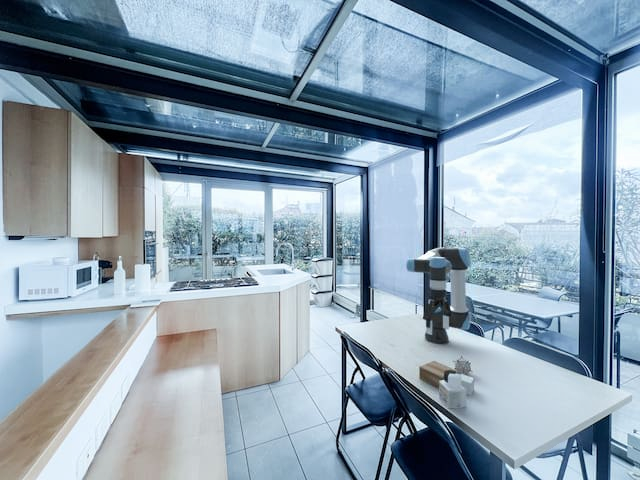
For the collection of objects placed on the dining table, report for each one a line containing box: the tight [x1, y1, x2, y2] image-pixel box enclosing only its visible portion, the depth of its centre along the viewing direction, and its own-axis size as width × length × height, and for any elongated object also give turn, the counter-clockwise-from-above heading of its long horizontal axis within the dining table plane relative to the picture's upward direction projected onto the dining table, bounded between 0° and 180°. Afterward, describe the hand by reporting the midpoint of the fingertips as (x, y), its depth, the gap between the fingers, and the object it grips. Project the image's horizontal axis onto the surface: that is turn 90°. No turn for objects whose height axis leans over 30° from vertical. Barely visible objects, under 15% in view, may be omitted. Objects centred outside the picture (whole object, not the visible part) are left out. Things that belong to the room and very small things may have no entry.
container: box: [438, 370, 467, 409], centre depth 112 cm, size 8×8×13 cm
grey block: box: [459, 373, 475, 397], centre depth 120 cm, size 6×6×6 cm
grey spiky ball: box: [452, 355, 473, 375], centre depth 135 cm, size 9×8×10 cm
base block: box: [418, 360, 457, 390], centre depth 129 cm, size 12×12×6 cm
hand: (437, 331), depth 129 cm, fingers open, 13 cm apart
